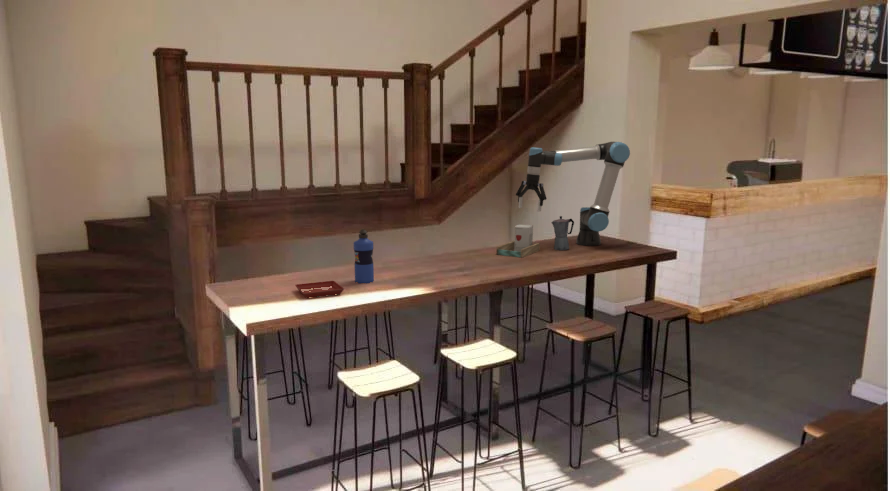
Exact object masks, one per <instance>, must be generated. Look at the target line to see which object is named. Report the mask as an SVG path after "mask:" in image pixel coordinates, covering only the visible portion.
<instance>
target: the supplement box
mask: <svg viewBox="0 0 890 491" xmlns="http://www.w3.org/2000/svg"><path fill="white" fill-rule="evenodd" d="M533 232H534V225H532V224H517V225H515V226H514V240H515V245H514V249H513V251H518V252H521V249H523V248H526V247H529V246H531V245H533V240H534V239H533V238H534V237H533V234H534V233H533Z"/></svg>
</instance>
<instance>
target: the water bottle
mask: <svg viewBox="0 0 890 491" xmlns="http://www.w3.org/2000/svg"><path fill="white" fill-rule="evenodd" d="M358 233H359V234H358V239H357V240H355V241H353V250H354V264H353V266H354V283H356V282H358V283H357V284H361V283H366V284H371V283H370V282H372V283H374V282H375V277H374V276H375V275H374V274H375V273H374V272H375V271H374V259H373V255H374V241H372V240H370V239H369V238H368V237H369V236H368V231H367V230H366V229H360V230H359V232H358ZM373 281H374V282H373Z"/></svg>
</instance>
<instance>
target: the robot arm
mask: <svg viewBox="0 0 890 491" xmlns="http://www.w3.org/2000/svg"><path fill="white" fill-rule="evenodd" d="M630 155H631V151H630V148H629V146H628V144H626V143H625V142H622V141H608V142H604V143H599V144H596V145H595V146H587V147H586V146H584V147H577V148H566V149H557V150H543V148H542V147H535V146H533V147H530V148H529V153H528V161H527V162H528V163H527V174H526V177H525V178H526V180H522V181H521V182H520V183H521V184H520V186H519V188H518V189H517V191H516V193H515V196H517V198H518V199H517V202H518V206H517V207H518V209H522V208H523V200H524V197H523V196H524V195H525V194H526V193H527V191H528V190H531V191H534V192H535V194H536V196H537V197H538V199H539V200H538V204H537V212H541V211H542V206H543V205H544V201H546V200H547V194H546V191H545V189H544V183H540V178H541V177H540V174H541V167H542V165H546V166H556V167H557V166H559V167H560V166H561V165H562V163H567V162H578V161H587V160H597V161H603V163H604V165H605V166H604V170H603V173H602V177H601V180H600V183H599V187H598V189H597V193H596V196H595V199H594V202H593V204H592V205H590V207H588V206H587V207H583V206H582V207H581V208H580V209H579V210H580V211H579V230H578V234H577V237H576V242H575V243H576V244H577V245H579V246H588V247H589V246H591V247H592V246H600V245H602V239H601V236H600V232H602V231H604V230H606V228H608V226H609V222H610V220H609V215H610V210H609V206H610V203H611V198H612V197H613V196H612V195H613V192H614V189H615V186H616V184H617V179H618V177H619V174H620V170H621V169H623V168H624V166H625V162H626V161H627V160H629V158H630Z"/></svg>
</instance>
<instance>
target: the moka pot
mask: <svg viewBox="0 0 890 491" xmlns="http://www.w3.org/2000/svg"><path fill="white" fill-rule="evenodd" d="M569 223H571V227H570V231H569ZM551 224H552V226H553V230H554V245H553V249H554V250H555V251H567V250H569V249H570V244H569V237H568V235H572V232H573V228H574V225H575V221H574V220H573V219H572V218H569V219H564V218H563V216H562V215H560V216H559V218H558V219H554V220H553V221H551Z"/></svg>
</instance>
